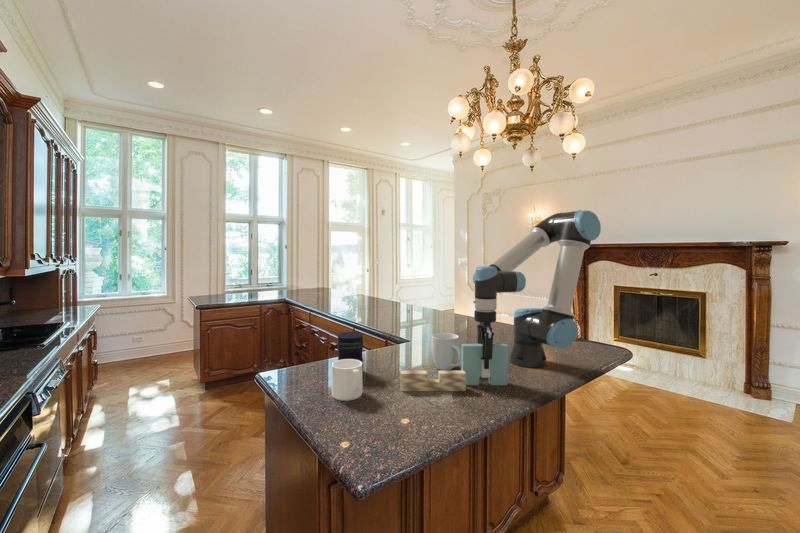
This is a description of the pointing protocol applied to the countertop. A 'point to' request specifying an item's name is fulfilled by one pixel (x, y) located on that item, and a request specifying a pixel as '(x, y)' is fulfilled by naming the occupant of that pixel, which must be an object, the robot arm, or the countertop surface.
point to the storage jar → (350, 346)
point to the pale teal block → (473, 363)
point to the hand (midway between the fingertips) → (484, 375)
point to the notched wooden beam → (433, 381)
